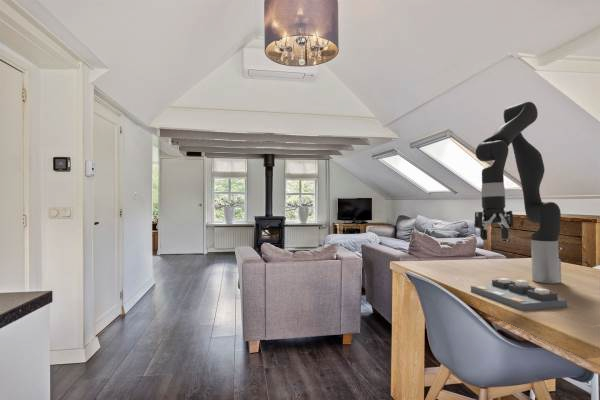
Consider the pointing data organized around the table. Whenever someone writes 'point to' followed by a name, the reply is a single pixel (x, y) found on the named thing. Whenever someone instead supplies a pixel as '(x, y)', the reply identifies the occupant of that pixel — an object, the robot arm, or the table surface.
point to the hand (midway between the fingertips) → (494, 239)
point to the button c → (542, 291)
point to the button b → (522, 283)
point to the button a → (504, 280)
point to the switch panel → (519, 296)
